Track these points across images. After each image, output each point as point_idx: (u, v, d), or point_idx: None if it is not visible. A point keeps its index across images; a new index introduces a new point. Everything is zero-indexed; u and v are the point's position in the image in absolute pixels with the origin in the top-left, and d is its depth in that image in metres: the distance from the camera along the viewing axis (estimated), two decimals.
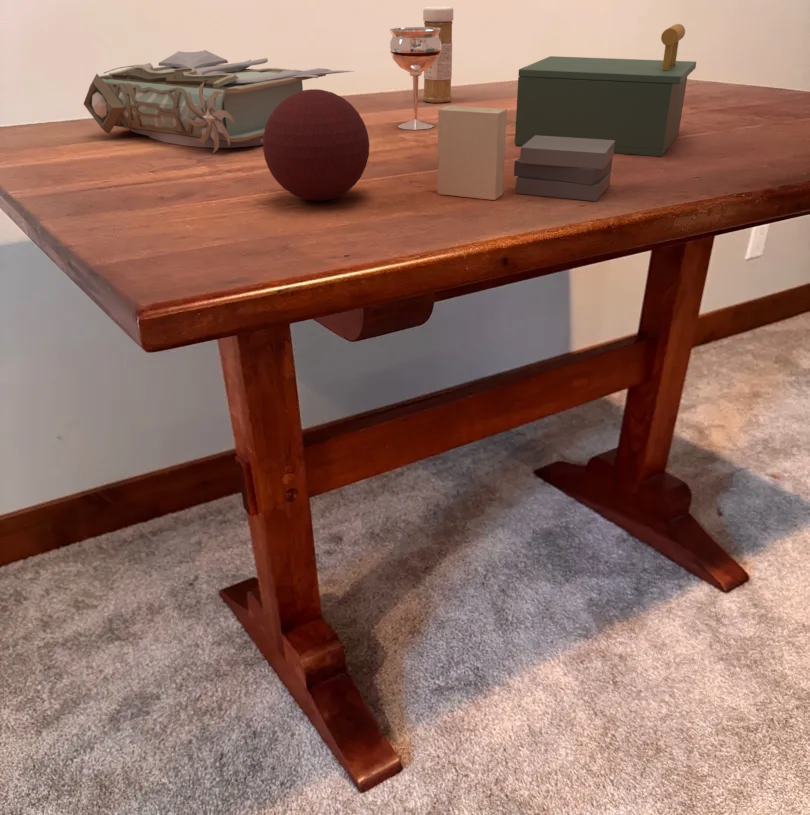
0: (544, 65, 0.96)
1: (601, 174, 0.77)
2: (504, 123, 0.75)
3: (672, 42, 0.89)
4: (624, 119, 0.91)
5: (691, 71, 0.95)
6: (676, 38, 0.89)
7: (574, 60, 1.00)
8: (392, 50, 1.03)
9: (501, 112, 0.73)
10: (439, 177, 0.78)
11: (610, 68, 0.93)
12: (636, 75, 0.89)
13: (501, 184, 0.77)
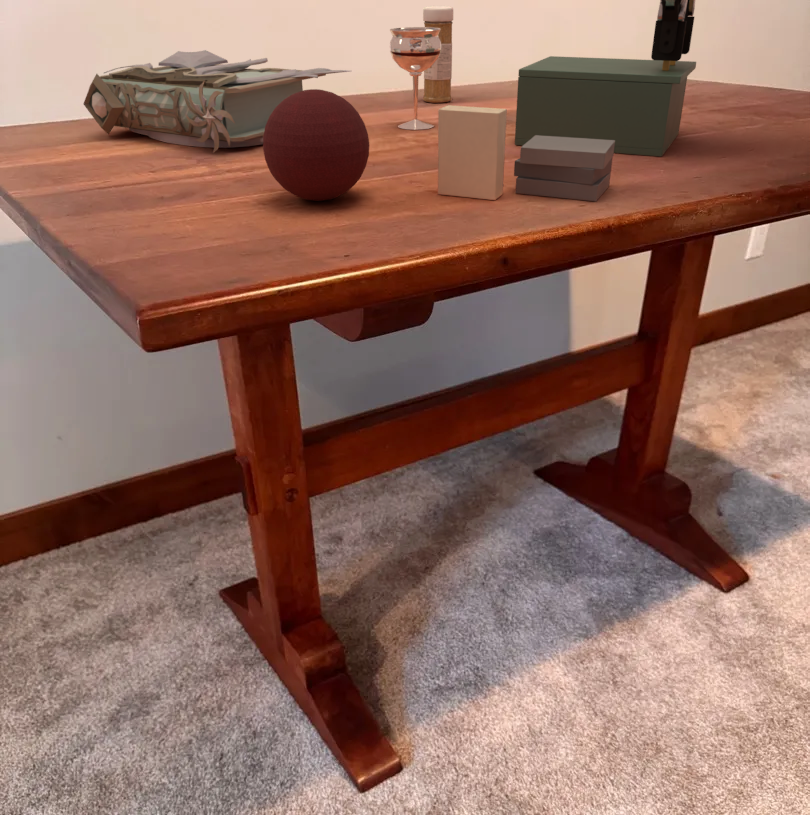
0: (544, 65, 0.96)
1: (601, 174, 0.77)
2: (504, 123, 0.75)
3: None
4: (624, 119, 0.91)
5: (691, 71, 0.95)
6: None
7: (574, 60, 1.00)
8: (392, 50, 1.03)
9: (501, 112, 0.73)
10: (439, 177, 0.78)
11: (610, 68, 0.93)
12: (636, 75, 0.89)
13: (501, 184, 0.77)
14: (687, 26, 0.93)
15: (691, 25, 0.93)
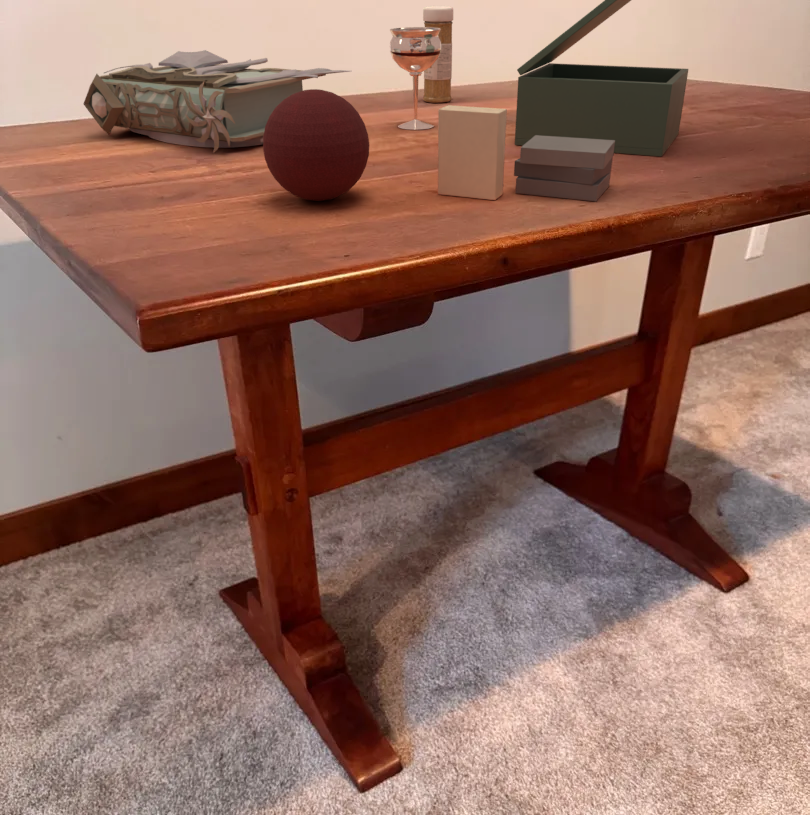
0: None
1: (601, 174, 0.77)
2: (504, 123, 0.75)
3: None
4: (624, 119, 0.91)
5: None
6: None
7: None
8: (392, 50, 1.03)
9: (501, 112, 0.73)
10: (439, 177, 0.78)
11: None
12: None
13: (501, 184, 0.77)
14: None
15: None
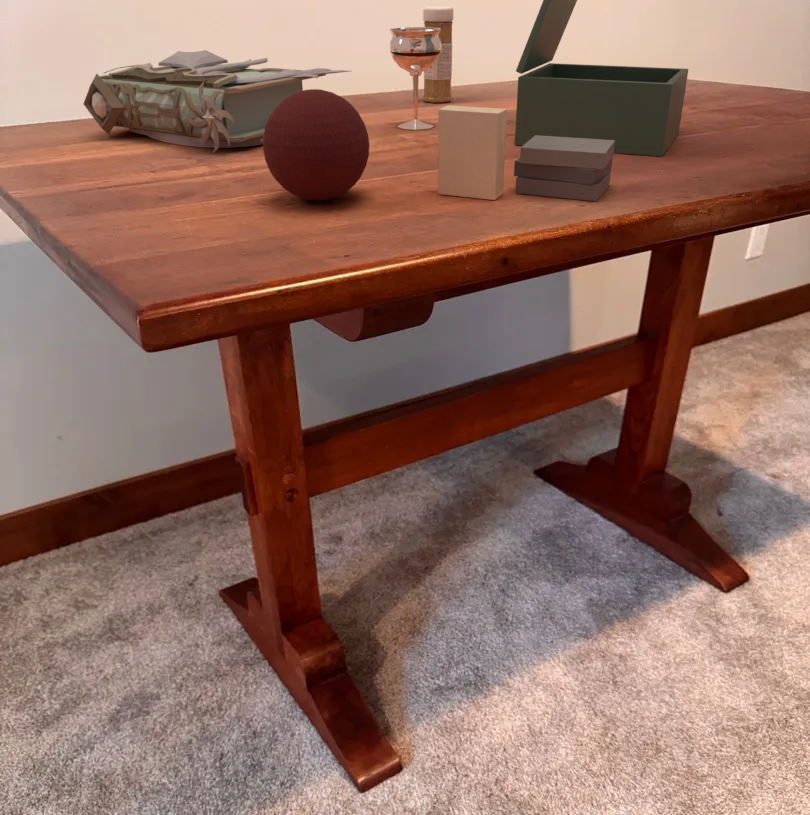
0: None
1: (601, 174, 0.77)
2: (504, 123, 0.75)
3: None
4: (624, 119, 0.91)
5: None
6: None
7: None
8: (392, 50, 1.03)
9: (501, 112, 0.73)
10: (439, 177, 0.78)
11: None
12: None
13: (501, 184, 0.77)
14: None
15: None
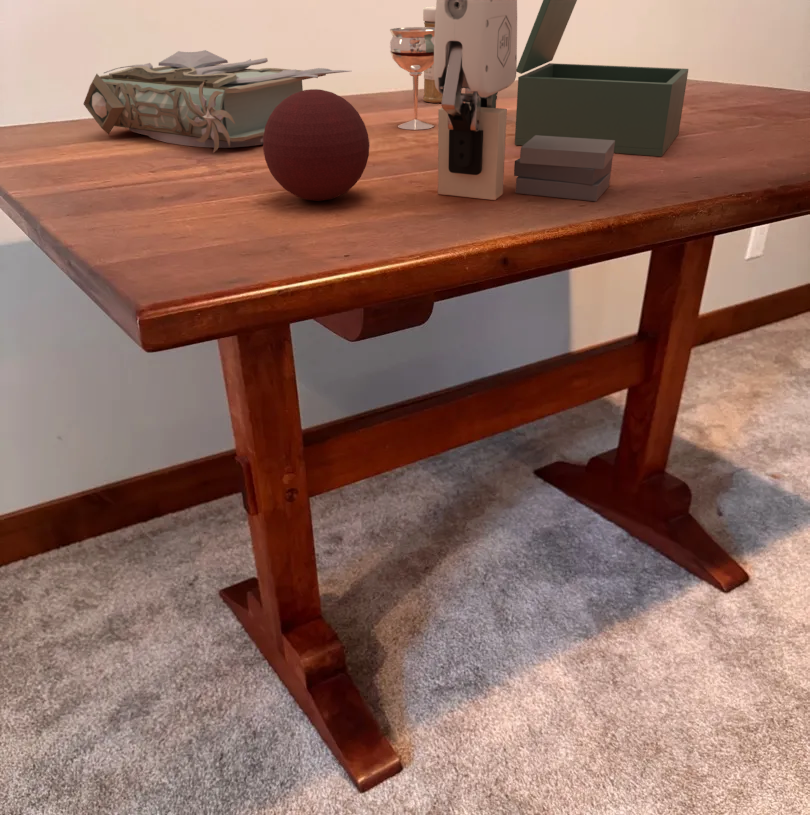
0: None
1: (601, 174, 0.77)
2: (504, 123, 0.75)
3: None
4: (624, 119, 0.91)
5: None
6: None
7: None
8: (392, 50, 1.03)
9: (501, 112, 0.73)
10: (439, 177, 0.78)
11: None
12: None
13: (501, 184, 0.77)
14: None
15: None
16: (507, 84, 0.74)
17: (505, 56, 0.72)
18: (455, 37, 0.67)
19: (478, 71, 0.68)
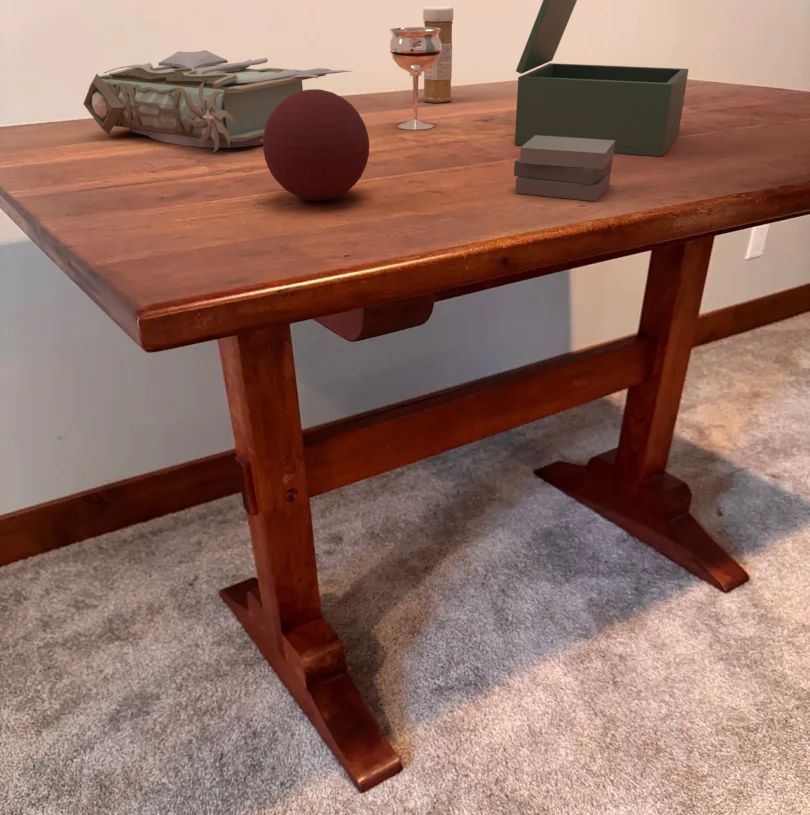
0: None
1: (601, 174, 0.77)
2: None
3: None
4: (624, 119, 0.91)
5: None
6: None
7: None
8: (392, 50, 1.03)
9: None
10: None
11: None
12: None
13: None
14: None
15: None
16: None
17: None
18: None
19: None
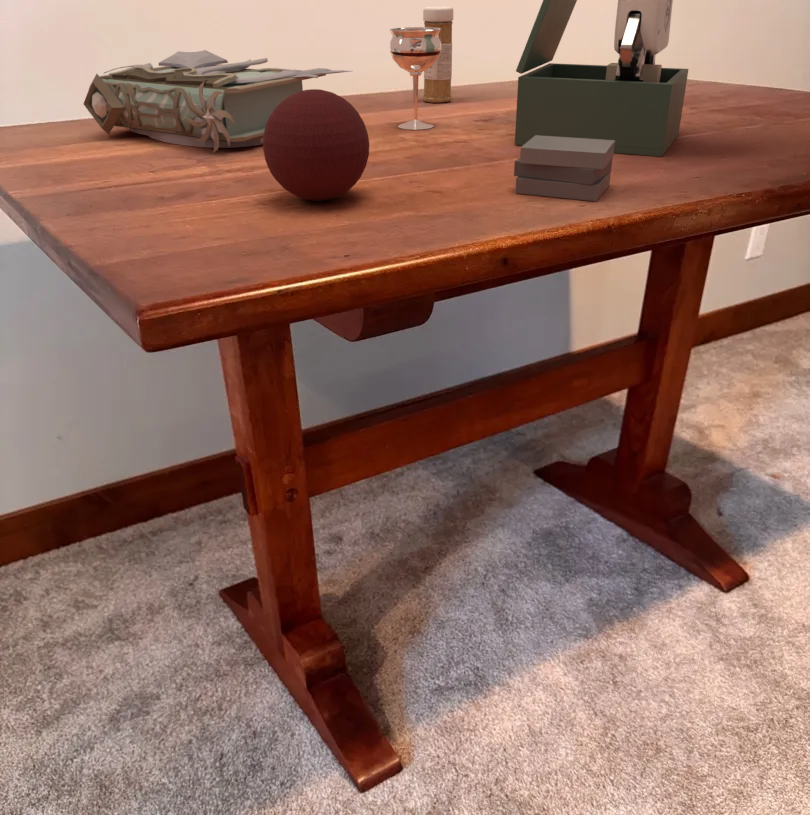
0: None
1: (601, 174, 0.77)
2: (659, 76, 0.94)
3: None
4: (624, 119, 0.91)
5: None
6: None
7: None
8: (392, 50, 1.03)
9: (659, 67, 0.93)
10: None
11: None
12: None
13: None
14: None
15: None
16: (665, 46, 0.94)
17: (666, 23, 0.92)
18: (636, 7, 0.87)
19: (653, 34, 0.88)
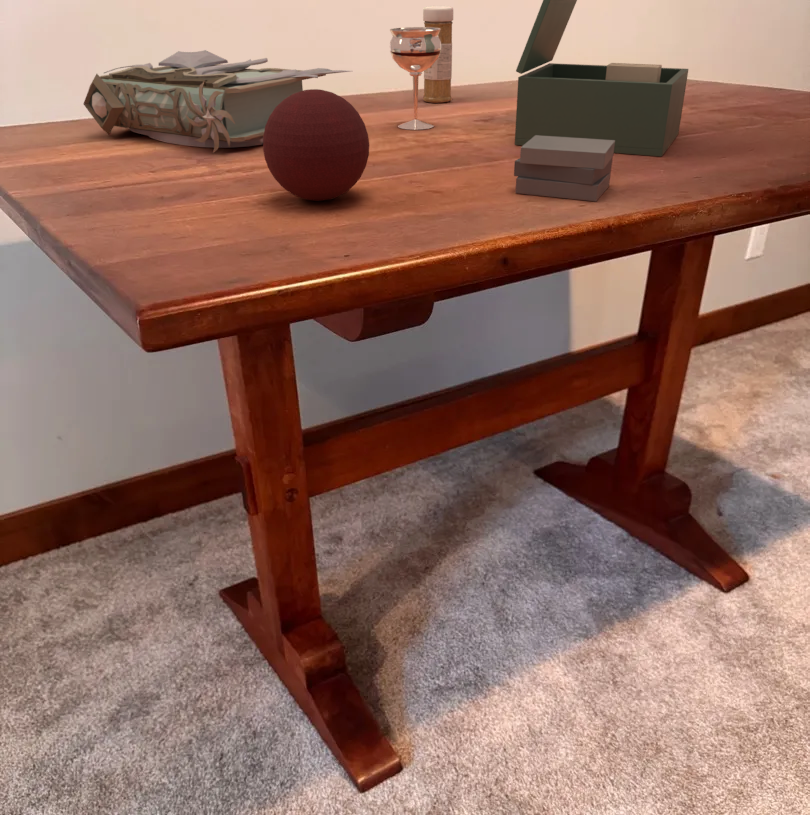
0: None
1: (601, 174, 0.77)
2: (659, 76, 0.94)
3: None
4: (624, 119, 0.91)
5: None
6: None
7: None
8: (392, 50, 1.03)
9: (659, 67, 0.93)
10: None
11: None
12: None
13: None
14: None
15: None
16: None
17: None
18: None
19: None
